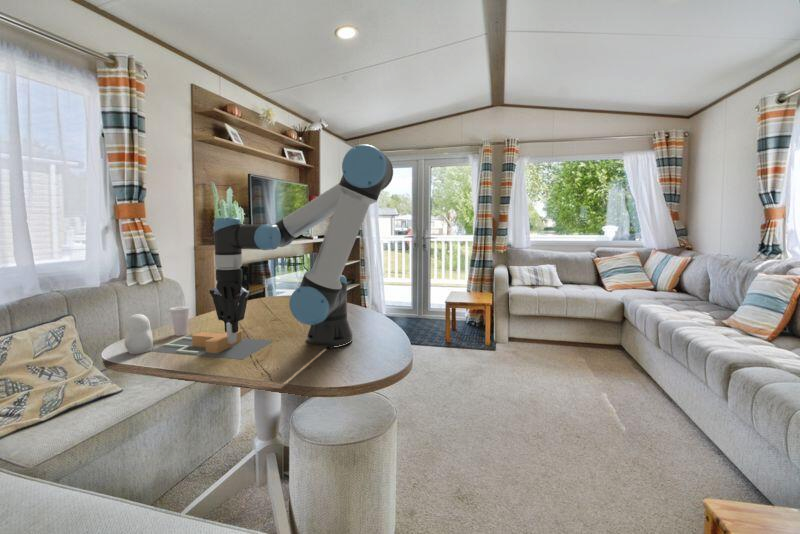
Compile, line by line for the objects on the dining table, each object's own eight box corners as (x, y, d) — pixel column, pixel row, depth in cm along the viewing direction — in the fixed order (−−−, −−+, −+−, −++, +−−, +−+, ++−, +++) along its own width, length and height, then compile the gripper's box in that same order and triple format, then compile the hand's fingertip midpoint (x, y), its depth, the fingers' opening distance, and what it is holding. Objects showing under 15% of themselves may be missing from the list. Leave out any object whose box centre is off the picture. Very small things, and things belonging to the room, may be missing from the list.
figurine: (124, 356, 114) (120, 317, 112) (128, 349, 120) (125, 312, 119) (152, 353, 117) (149, 315, 115) (154, 345, 124) (152, 309, 122)
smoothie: (182, 337, 133) (179, 298, 131) (166, 336, 134) (163, 297, 132) (195, 332, 139) (193, 294, 137) (180, 331, 140) (177, 293, 138)
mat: (275, 343, 127) (275, 340, 127) (242, 362, 109) (242, 359, 109) (191, 337, 133) (191, 334, 133) (148, 354, 116) (148, 351, 115)
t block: (241, 341, 126) (241, 330, 125) (217, 353, 114) (217, 342, 114) (209, 338, 128) (209, 328, 128) (183, 350, 116) (182, 339, 116)
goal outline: (231, 338, 129) (230, 336, 129) (197, 354, 113) (197, 352, 113) (191, 335, 132) (191, 333, 132) (153, 350, 116) (153, 348, 116)
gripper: (255, 267, 119) (257, 340, 122) (218, 265, 122) (221, 337, 125) (240, 270, 112) (243, 347, 115) (201, 268, 114) (205, 344, 117)
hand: (232, 342), depth 120 cm, fingers closed
